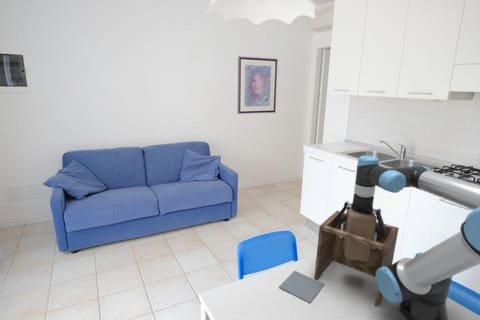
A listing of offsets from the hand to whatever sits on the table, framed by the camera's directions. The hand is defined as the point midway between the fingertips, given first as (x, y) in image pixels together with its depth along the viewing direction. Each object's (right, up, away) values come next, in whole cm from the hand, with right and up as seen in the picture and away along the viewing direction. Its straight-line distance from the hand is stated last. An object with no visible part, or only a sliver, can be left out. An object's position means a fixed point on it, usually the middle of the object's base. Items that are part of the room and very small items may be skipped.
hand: (357, 242), depth 122 cm
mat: (-23, -19, 0) cm, 30 cm away
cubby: (-1, -18, +5) cm, 19 cm away
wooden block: (0, -6, +1) cm, 6 cm away
